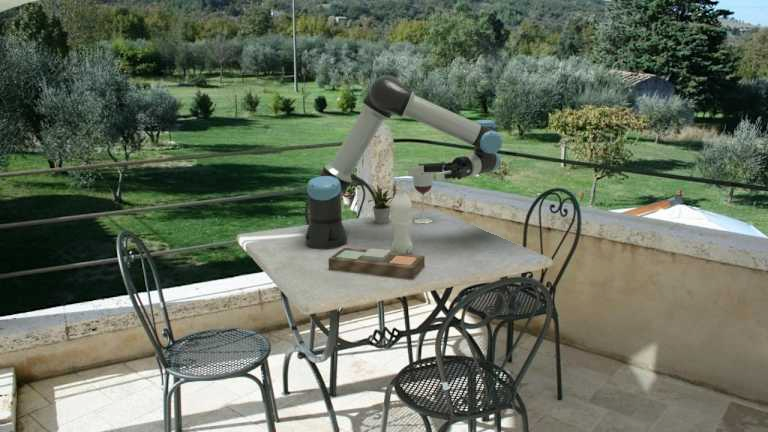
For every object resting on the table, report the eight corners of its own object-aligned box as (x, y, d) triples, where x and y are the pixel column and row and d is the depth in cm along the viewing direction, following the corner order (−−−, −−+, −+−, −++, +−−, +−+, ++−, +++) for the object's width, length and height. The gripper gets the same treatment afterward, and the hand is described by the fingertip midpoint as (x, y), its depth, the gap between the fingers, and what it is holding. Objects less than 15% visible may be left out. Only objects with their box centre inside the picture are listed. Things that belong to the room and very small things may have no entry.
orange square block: (388, 271, 191) (388, 262, 190) (396, 263, 198) (396, 255, 197) (410, 273, 189) (410, 265, 188) (417, 266, 195) (417, 257, 194)
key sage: (336, 265, 197) (335, 256, 197) (345, 258, 204) (345, 250, 203) (356, 267, 195) (356, 259, 194) (365, 260, 201) (365, 252, 201)
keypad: (328, 269, 196) (328, 258, 195) (344, 257, 207) (343, 247, 206) (412, 279, 186) (412, 268, 185) (424, 266, 197) (424, 255, 196)
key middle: (361, 263, 194) (361, 255, 193) (370, 256, 200) (370, 248, 200) (383, 265, 191) (383, 257, 191) (391, 258, 198) (391, 250, 197)
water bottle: (413, 250, 213) (412, 179, 206) (411, 256, 206) (411, 183, 199) (392, 249, 214) (391, 179, 207) (390, 256, 207) (389, 183, 200)
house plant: (354, 222, 248) (352, 183, 244) (376, 215, 258) (375, 177, 254) (381, 228, 239) (380, 187, 235) (403, 220, 250) (402, 181, 245)
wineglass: (435, 218, 251) (435, 170, 246) (429, 224, 243) (429, 175, 238) (416, 217, 254) (416, 169, 248) (410, 223, 246) (410, 174, 241)
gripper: (492, 181, 214) (448, 191, 201) (441, 171, 232) (398, 179, 219) (492, 160, 212) (448, 168, 199) (441, 152, 230) (398, 159, 217)
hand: (422, 174), depth 209 cm, fingers open, 13 cm apart
